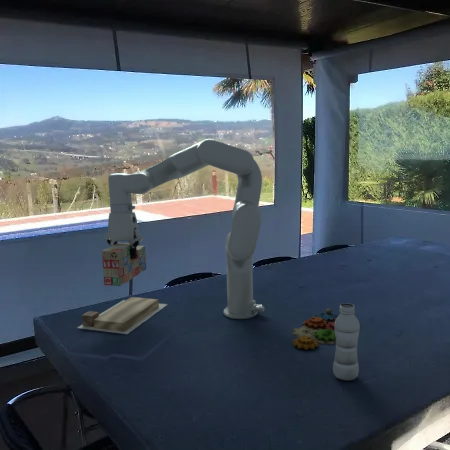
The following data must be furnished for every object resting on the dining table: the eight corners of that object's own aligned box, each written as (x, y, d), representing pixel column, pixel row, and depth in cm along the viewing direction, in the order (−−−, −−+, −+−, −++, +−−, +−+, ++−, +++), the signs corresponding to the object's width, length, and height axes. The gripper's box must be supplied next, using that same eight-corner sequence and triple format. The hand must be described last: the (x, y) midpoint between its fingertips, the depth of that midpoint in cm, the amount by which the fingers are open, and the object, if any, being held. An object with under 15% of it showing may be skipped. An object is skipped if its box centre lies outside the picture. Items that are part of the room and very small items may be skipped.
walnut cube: (99, 322, 161) (98, 312, 161) (92, 327, 158) (91, 316, 157) (89, 321, 163) (89, 311, 162) (82, 325, 159) (82, 315, 158)
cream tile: (167, 306, 179) (167, 304, 179) (127, 336, 151) (127, 334, 151) (123, 301, 186) (123, 300, 185) (77, 329, 158) (76, 327, 158)
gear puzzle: (320, 357, 133) (320, 344, 132) (273, 344, 143) (273, 332, 142) (360, 324, 157) (361, 312, 157) (318, 314, 167) (318, 304, 166)
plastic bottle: (329, 372, 123) (330, 302, 120) (353, 370, 124) (355, 300, 120) (337, 384, 117) (338, 310, 114) (362, 382, 117) (364, 309, 114)
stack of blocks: (131, 268, 176) (129, 237, 174) (146, 269, 174) (145, 238, 172) (103, 285, 155) (101, 250, 153) (120, 286, 154) (118, 250, 152)
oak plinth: (158, 306, 176) (158, 299, 176) (124, 331, 153) (123, 323, 153) (131, 304, 180) (131, 296, 180) (94, 327, 157) (93, 319, 156)
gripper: (148, 207, 161) (151, 256, 164) (106, 206, 166) (109, 254, 169) (137, 210, 154) (140, 262, 157) (94, 209, 159) (97, 259, 162)
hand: (124, 257), depth 163 cm, fingers closed on stack of blocks, 6 cm apart
